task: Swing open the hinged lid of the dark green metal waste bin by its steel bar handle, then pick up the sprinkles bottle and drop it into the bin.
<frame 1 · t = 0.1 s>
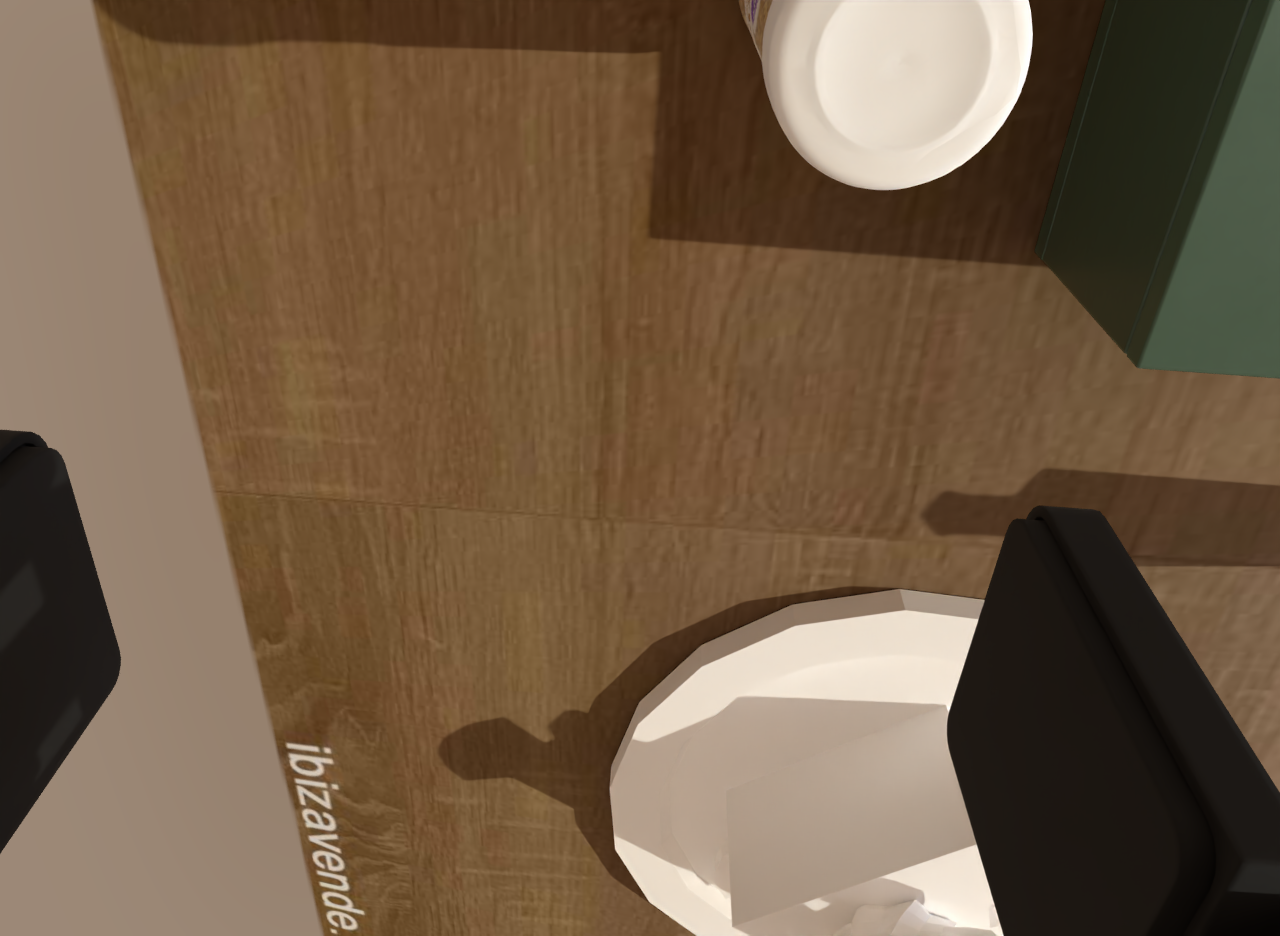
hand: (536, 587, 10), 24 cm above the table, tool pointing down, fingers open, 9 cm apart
dish: (873, 793, 47), on the table
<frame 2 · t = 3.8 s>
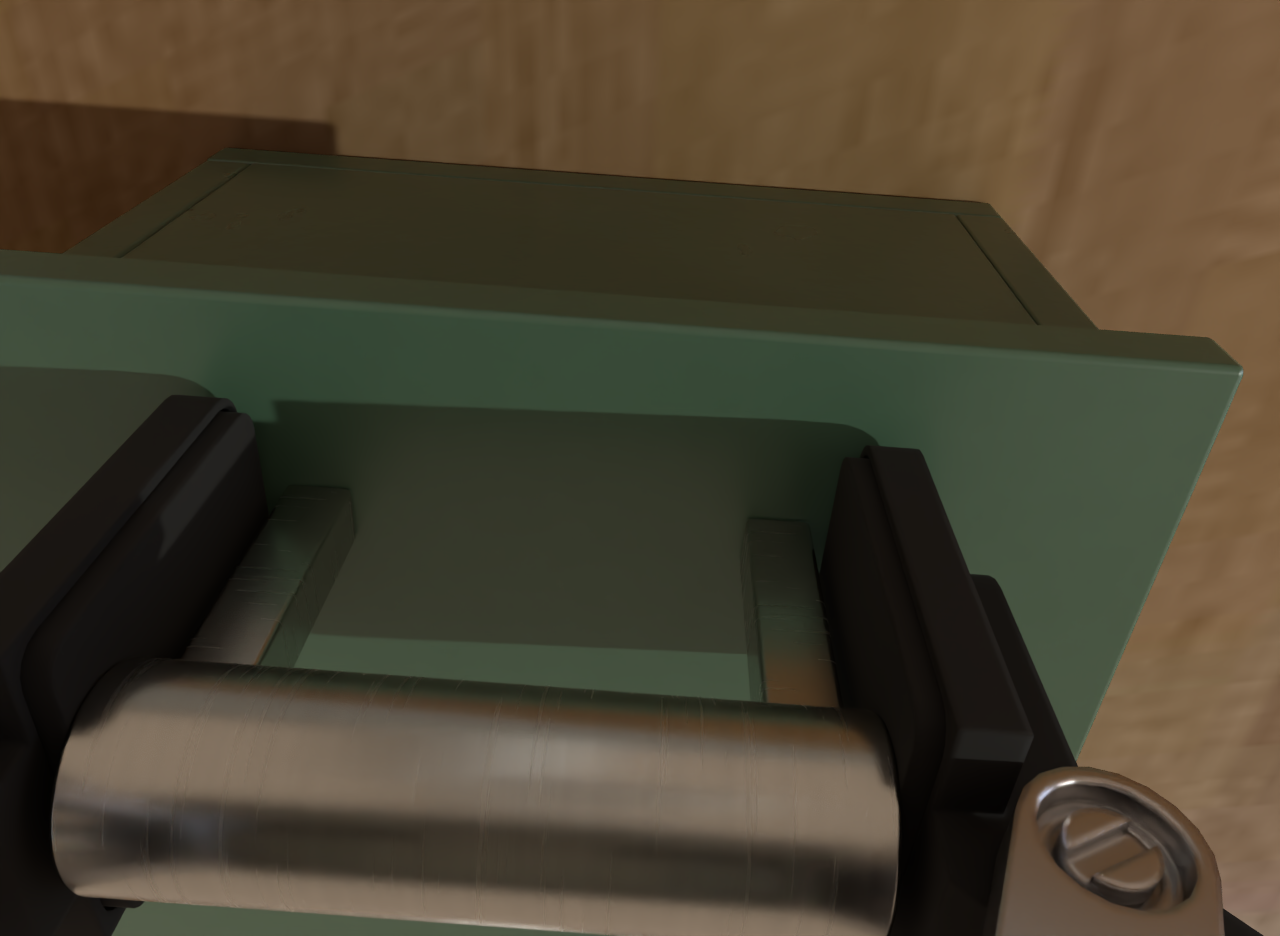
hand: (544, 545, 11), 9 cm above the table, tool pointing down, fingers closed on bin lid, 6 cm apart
bin: (590, 550, 22), on the table
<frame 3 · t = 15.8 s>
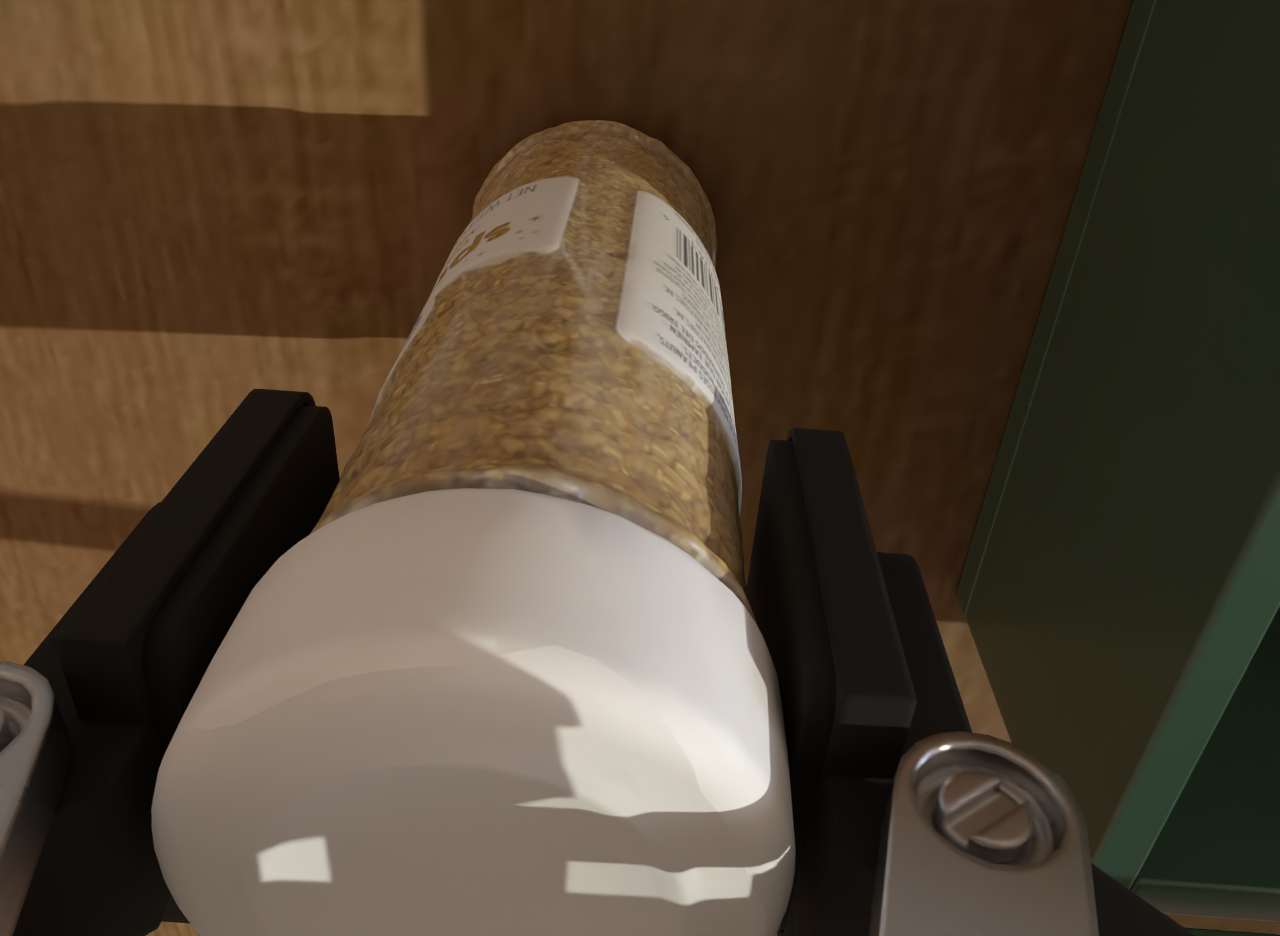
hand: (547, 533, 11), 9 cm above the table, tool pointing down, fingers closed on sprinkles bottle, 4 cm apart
sprinkles bottle: (597, 240, 18), on the table, touching gripper
when the fingers open (10 cm above the table, at t = 23.4 s): sprinkles bottle stays where it is, resting on bin.
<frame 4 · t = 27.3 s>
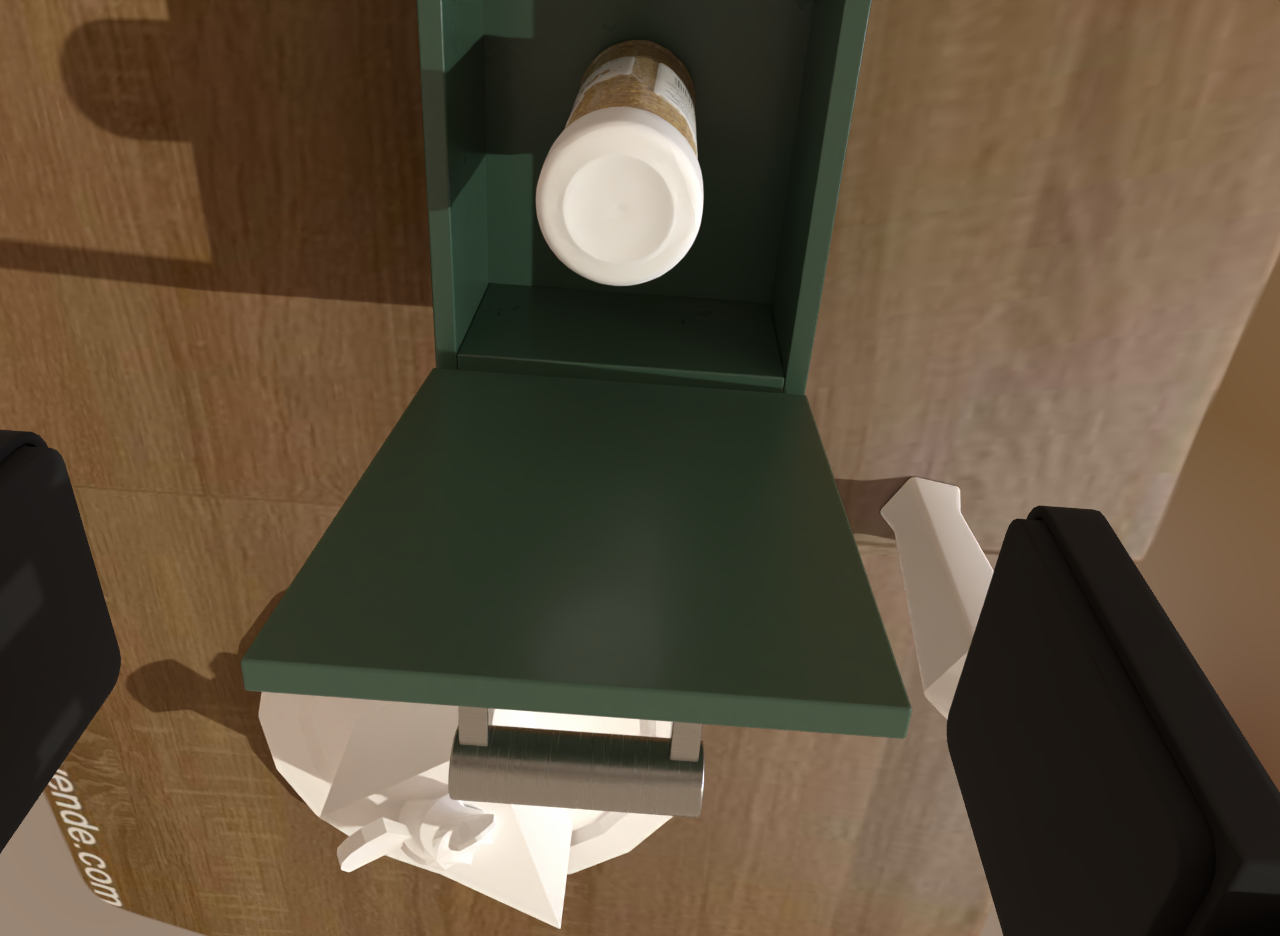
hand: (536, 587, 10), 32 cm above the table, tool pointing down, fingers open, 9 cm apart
dish: (483, 722, 57), on the table
bin: (641, 104, 38), on the table
bin lid: (599, 571, 29), point 17 cm above the table, hinge at 83.3°
sprinkles bottle: (638, 101, 38), point 1 cm above the table, touching bin
perfume bottle: (924, 509, 48), on the table
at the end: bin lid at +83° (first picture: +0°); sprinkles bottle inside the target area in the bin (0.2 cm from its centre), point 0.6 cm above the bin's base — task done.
